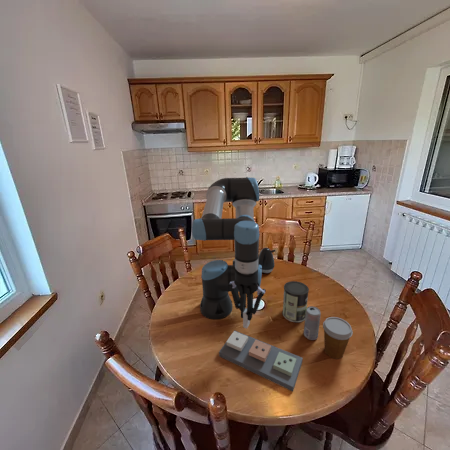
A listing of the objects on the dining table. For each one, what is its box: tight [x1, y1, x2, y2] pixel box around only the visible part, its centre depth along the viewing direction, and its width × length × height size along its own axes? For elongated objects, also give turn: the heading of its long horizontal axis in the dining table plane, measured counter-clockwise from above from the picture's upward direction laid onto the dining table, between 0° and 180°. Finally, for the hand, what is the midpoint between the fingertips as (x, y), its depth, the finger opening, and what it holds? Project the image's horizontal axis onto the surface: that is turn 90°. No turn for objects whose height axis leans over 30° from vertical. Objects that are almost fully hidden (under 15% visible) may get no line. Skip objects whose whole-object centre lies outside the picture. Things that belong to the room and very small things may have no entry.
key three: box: [273, 352, 296, 376], centre depth 80 cm, size 6×6×4 cm
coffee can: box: [282, 280, 310, 323], centre depth 104 cm, size 10×10×14 cm
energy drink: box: [303, 305, 321, 341], centre depth 93 cm, size 5×5×12 cm
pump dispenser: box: [258, 247, 276, 274], centre depth 140 cm, size 10×10×15 cm
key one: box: [225, 330, 249, 351], centre depth 88 cm, size 6×6×4 cm
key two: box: [249, 339, 271, 362], centre depth 84 cm, size 6×6×4 cm
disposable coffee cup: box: [322, 316, 354, 360], centre depth 85 cm, size 10×10×12 cm
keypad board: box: [218, 330, 303, 392], centre depth 85 cm, size 27×12×2 cm, turn 60°
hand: (246, 325), depth 85 cm, fingers closed
